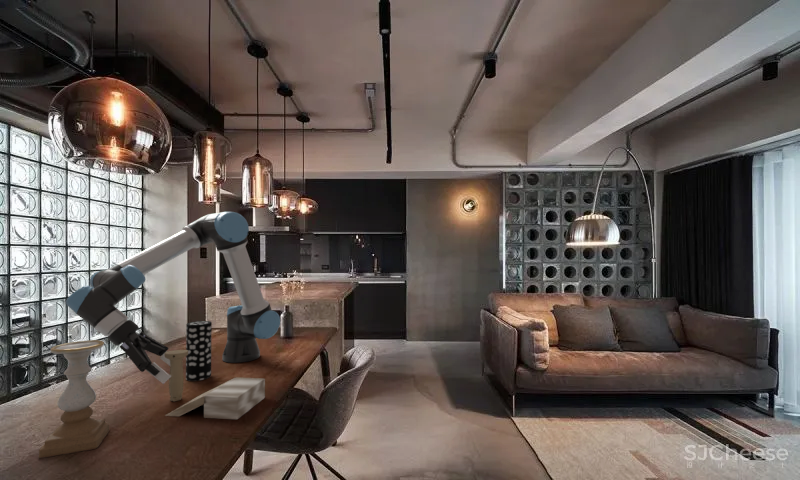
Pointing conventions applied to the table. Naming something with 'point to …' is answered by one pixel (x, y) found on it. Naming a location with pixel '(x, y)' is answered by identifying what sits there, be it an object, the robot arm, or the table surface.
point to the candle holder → (76, 405)
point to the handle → (176, 373)
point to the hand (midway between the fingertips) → (173, 373)
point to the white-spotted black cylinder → (198, 350)
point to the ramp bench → (227, 399)
